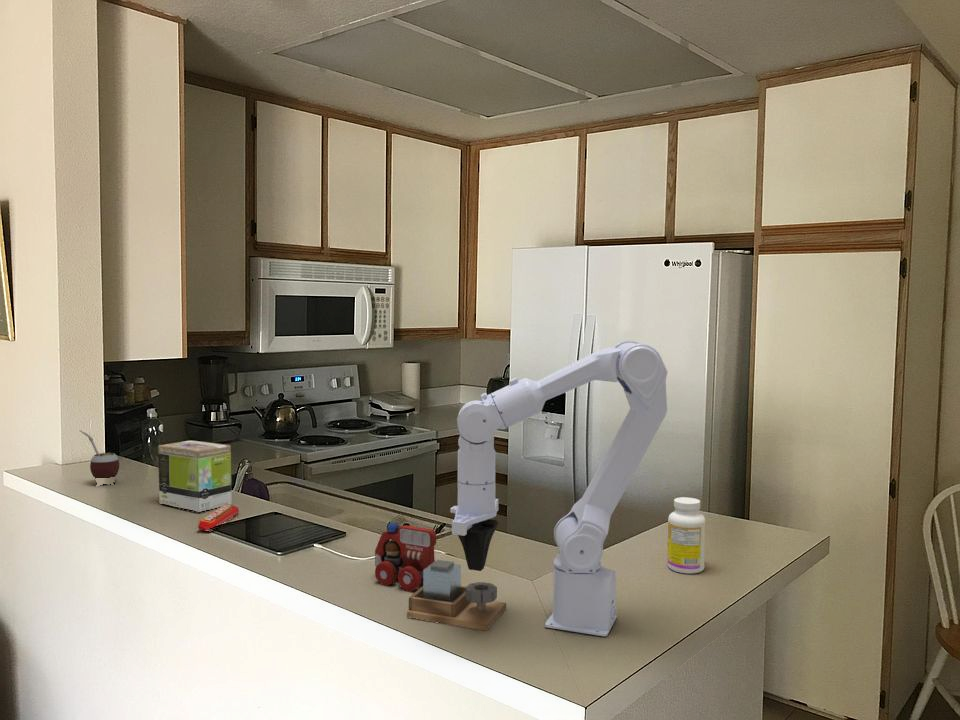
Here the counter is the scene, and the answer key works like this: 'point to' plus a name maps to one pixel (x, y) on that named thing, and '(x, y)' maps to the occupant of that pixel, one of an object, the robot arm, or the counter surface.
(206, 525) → the candy bar
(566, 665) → the counter surface
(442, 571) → the grey block
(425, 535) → the toy fire truck
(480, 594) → the wheel
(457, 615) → the board
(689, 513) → the supplement bottle
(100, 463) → the mate gourd
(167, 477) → the tea box
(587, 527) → the robot arm
